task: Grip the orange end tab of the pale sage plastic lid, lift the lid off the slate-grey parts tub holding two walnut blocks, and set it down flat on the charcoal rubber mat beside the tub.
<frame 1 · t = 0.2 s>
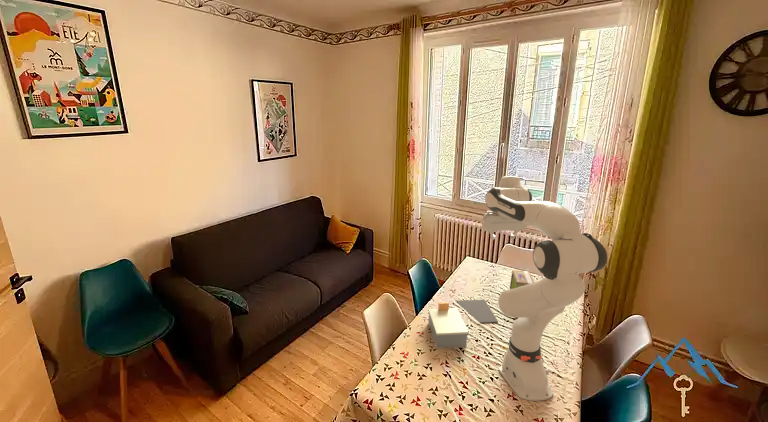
hand: (502, 238, 157), 47 cm above the table, fingers open, 8 cm apart
soda can: (522, 324, 173), on the table
lid: (447, 321, 162), point 8 cm above the table, touching tub
tub: (446, 335, 164), on the table
part block b: (440, 330, 167), point 1 cm above the table, touching tub
tea box: (519, 299, 194), on the table
part block a: (452, 339, 160), point 1 cm above the table, touching tub
mat: (476, 311, 183), on the table
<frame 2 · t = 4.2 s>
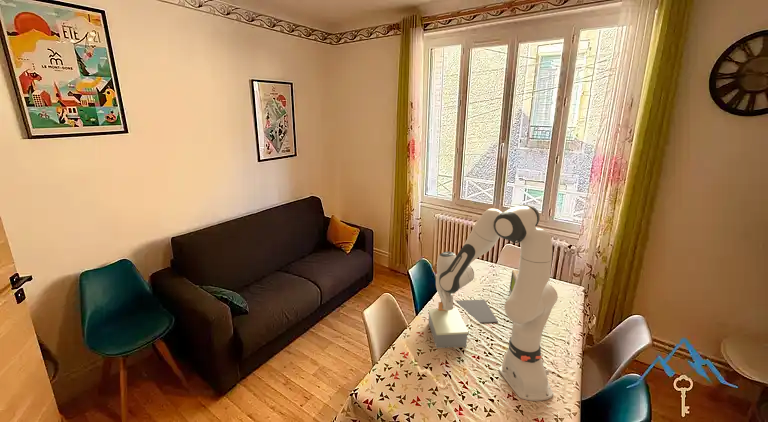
hand: (443, 307, 169), 10 cm above the table, fingers closed on lid
lid: (447, 321, 162), point 8 cm above the table, touching gripper, tub
everything else where it was.
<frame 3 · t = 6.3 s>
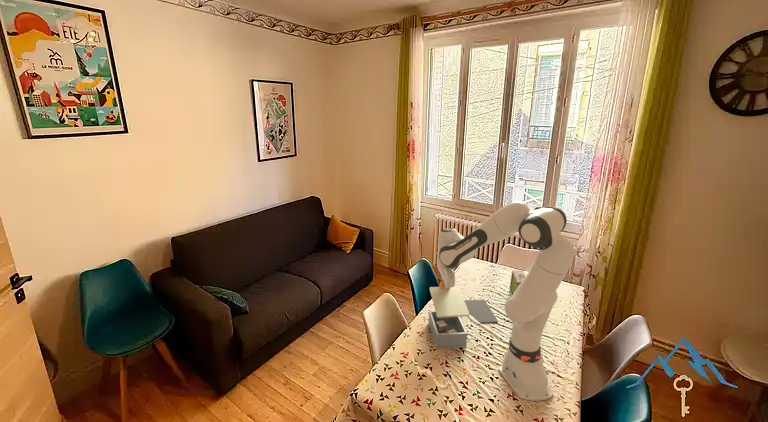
hand: (445, 285, 165), 23 cm above the table, fingers closed on lid
lid: (448, 301, 159), point 19 cm above the table, tilted 11°, touching gripper
everything else where it was.
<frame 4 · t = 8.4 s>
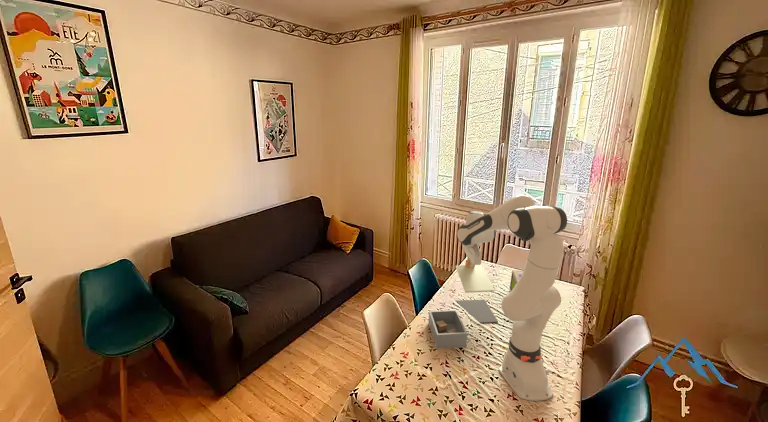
hand: (470, 264, 180), 26 cm above the table, fingers closed on lid
lid: (474, 278, 174), point 21 cm above the table, tilted 14°, touching gripper
everything else where it was.
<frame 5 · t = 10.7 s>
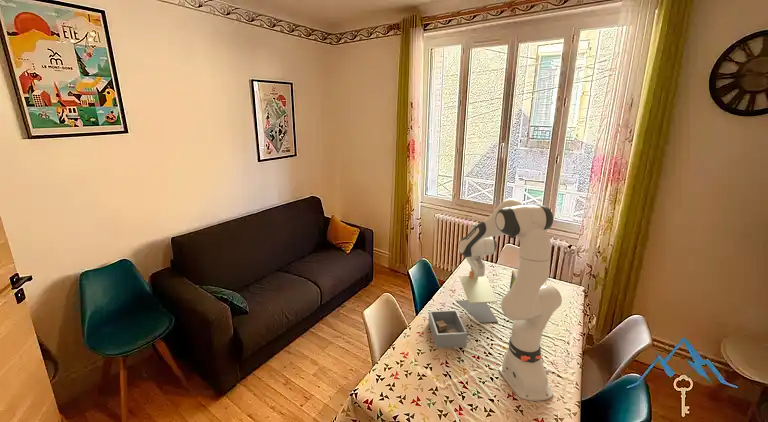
hand: (473, 275, 185), 17 cm above the table, fingers closed on lid
lid: (477, 289, 180), point 13 cm above the table, tilted 15°, touching gripper
everything else where it was.
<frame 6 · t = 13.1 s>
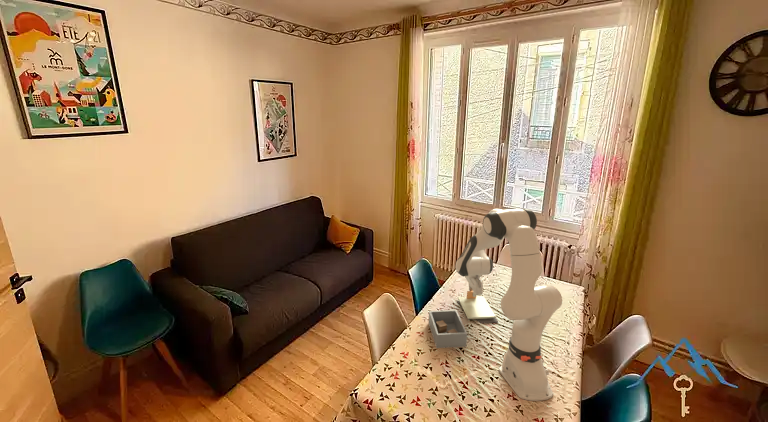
hand: (472, 293, 189), 6 cm above the table, fingers open, 4 cm apart
lid: (476, 307, 183), point 2 cm above the table, touching mat
everything else where it was.
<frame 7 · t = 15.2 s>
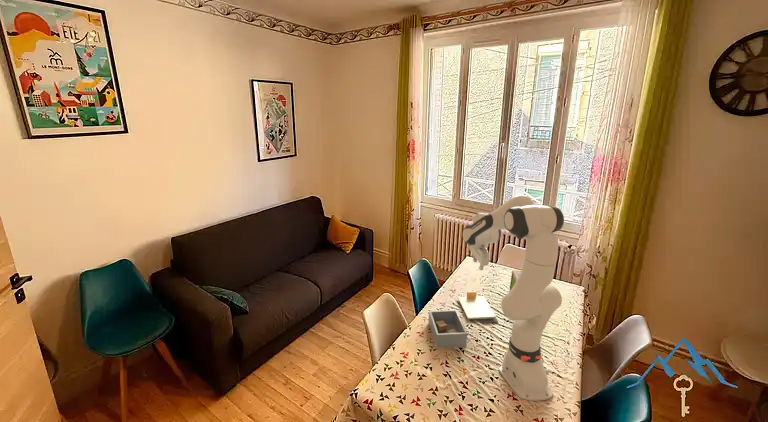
hand: (477, 265, 182), 24 cm above the table, fingers open, 8 cm apart
nothing on the table moved.
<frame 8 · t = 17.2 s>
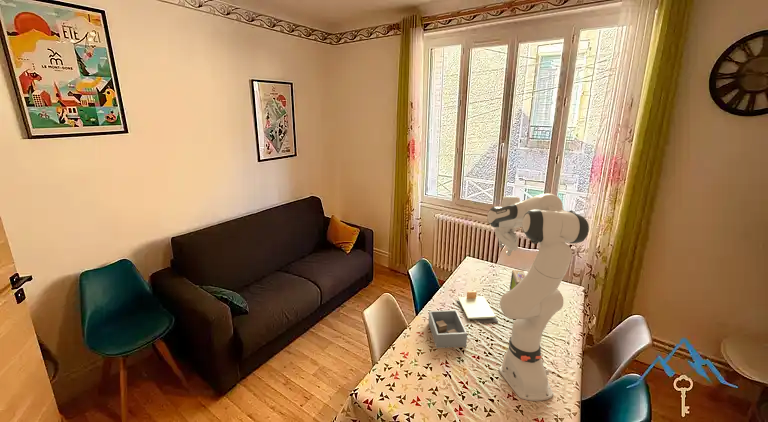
hand: (504, 251, 176), 34 cm above the table, fingers open, 8 cm apart
nothing on the table moved.
at the end: lid inside the target area on the mat (0.7 cm from its centre), point 1.8 cm above the mat's base; lid tilted 0°; the gripper is holding nothing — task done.
